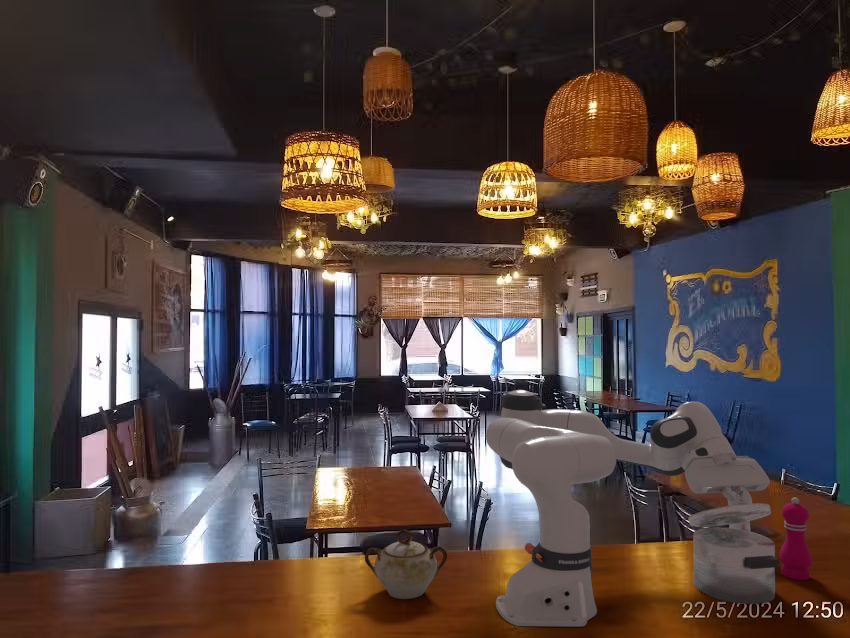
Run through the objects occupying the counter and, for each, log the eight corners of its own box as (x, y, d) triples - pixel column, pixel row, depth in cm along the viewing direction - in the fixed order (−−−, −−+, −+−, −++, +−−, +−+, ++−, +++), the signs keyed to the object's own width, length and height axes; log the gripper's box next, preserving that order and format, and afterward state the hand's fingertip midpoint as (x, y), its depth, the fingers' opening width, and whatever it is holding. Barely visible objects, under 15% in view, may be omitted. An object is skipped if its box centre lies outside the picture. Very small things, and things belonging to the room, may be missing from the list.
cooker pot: (729, 611, 146) (729, 557, 147) (676, 574, 168) (676, 528, 168) (800, 605, 150) (800, 552, 150) (739, 570, 171) (739, 524, 171)
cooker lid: (716, 511, 151) (712, 500, 152) (675, 528, 167) (672, 517, 168) (788, 507, 154) (784, 496, 155) (742, 524, 170) (738, 514, 172)
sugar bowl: (361, 605, 149) (361, 539, 149) (367, 579, 164) (367, 519, 164) (447, 606, 149) (447, 540, 149) (446, 580, 164) (446, 520, 164)
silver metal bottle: (753, 549, 187) (753, 479, 187) (751, 556, 181) (751, 484, 181) (729, 545, 190) (729, 476, 191) (725, 551, 185) (725, 481, 185)
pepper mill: (816, 582, 163) (816, 502, 163) (784, 579, 165) (784, 500, 165) (805, 571, 170) (805, 494, 170) (775, 569, 172) (775, 493, 172)
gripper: (746, 462, 170) (773, 510, 161) (675, 465, 167) (698, 514, 157) (758, 448, 166) (786, 497, 156) (685, 451, 162) (709, 501, 153)
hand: (741, 506), depth 157 cm, fingers closed, pressing on cooker lid
